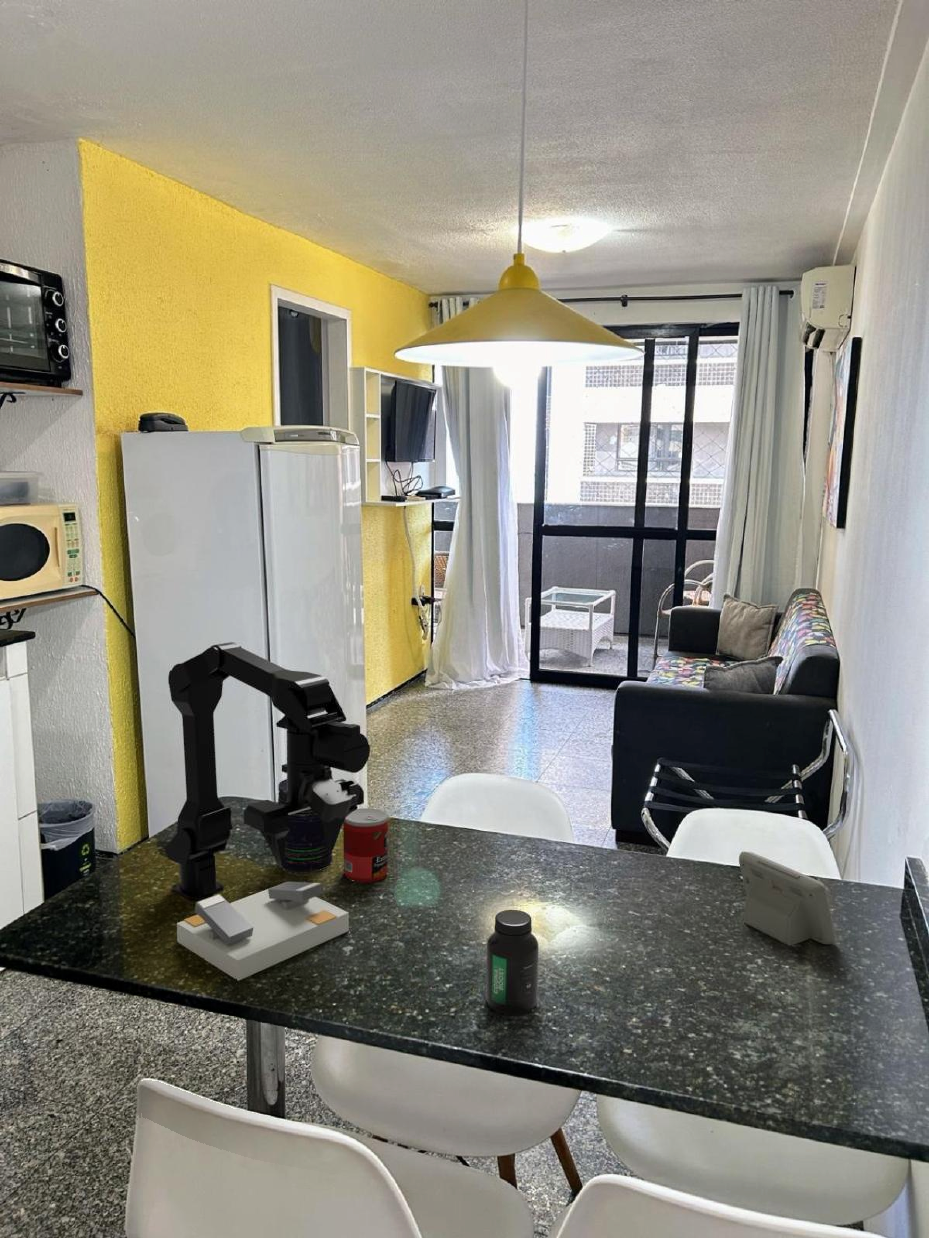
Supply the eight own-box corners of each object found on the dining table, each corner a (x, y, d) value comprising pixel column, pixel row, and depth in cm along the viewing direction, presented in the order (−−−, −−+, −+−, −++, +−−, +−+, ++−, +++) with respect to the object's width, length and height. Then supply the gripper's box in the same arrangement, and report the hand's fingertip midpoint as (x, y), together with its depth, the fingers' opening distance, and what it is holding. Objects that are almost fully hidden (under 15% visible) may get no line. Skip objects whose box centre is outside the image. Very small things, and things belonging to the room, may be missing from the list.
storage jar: (328, 873, 160) (327, 793, 158) (273, 872, 160) (272, 792, 158) (336, 851, 170) (336, 775, 168) (285, 851, 170) (284, 775, 168)
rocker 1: (194, 910, 132) (195, 901, 132) (218, 902, 135) (219, 893, 135) (228, 945, 127) (229, 936, 126) (252, 935, 130) (253, 926, 129)
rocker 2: (269, 898, 142) (267, 888, 142) (290, 890, 145) (288, 880, 145) (303, 901, 136) (301, 890, 136) (323, 893, 139) (322, 882, 139)
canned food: (381, 885, 155) (381, 824, 154) (337, 880, 157) (336, 820, 156) (393, 867, 163) (393, 809, 161) (351, 863, 164) (351, 806, 163)
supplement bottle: (499, 1021, 115) (501, 933, 114) (477, 994, 121) (479, 910, 120) (546, 1009, 118) (548, 923, 116) (522, 984, 124) (524, 902, 123)
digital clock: (841, 948, 136) (846, 881, 134) (792, 957, 132) (797, 889, 131) (770, 902, 151) (774, 842, 149) (725, 910, 148) (729, 849, 146)
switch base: (177, 941, 135) (176, 915, 134) (285, 899, 149) (285, 875, 149) (238, 980, 124) (237, 952, 124) (348, 930, 139) (348, 905, 138)
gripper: (286, 785, 122) (287, 893, 124) (388, 758, 136) (387, 856, 138) (241, 767, 130) (242, 869, 132) (341, 743, 143) (341, 836, 145)
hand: (306, 858), depth 137 cm, fingers open, 9 cm apart
